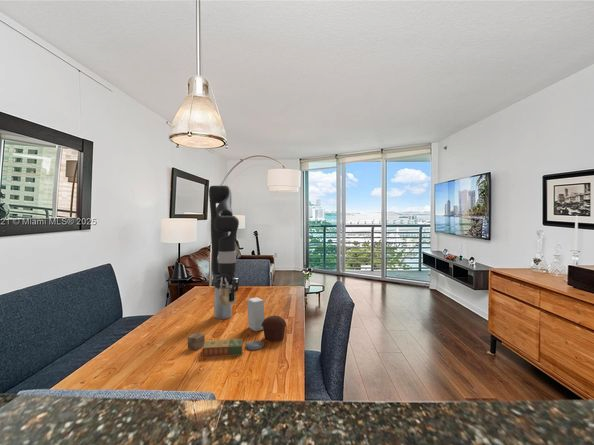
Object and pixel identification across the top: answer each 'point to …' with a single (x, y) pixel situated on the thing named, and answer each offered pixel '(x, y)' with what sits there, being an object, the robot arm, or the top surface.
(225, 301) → the oak block
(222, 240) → the robot arm
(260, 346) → the grey disc
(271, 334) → the muffin
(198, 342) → the walnut block
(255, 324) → the skincare box
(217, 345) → the carton
